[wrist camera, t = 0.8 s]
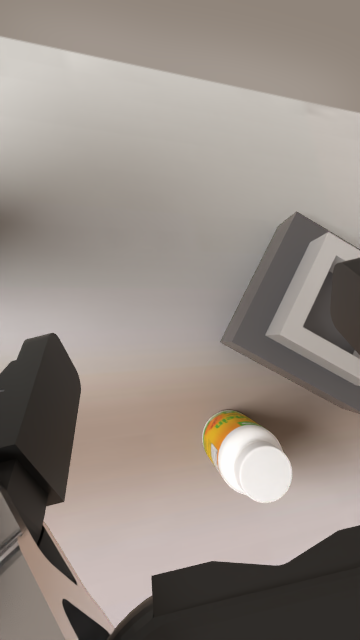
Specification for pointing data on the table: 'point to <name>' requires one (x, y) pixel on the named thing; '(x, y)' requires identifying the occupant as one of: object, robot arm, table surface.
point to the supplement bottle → (247, 456)
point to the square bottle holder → (299, 313)
